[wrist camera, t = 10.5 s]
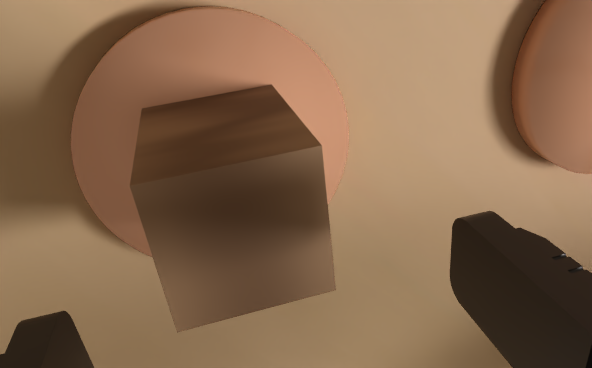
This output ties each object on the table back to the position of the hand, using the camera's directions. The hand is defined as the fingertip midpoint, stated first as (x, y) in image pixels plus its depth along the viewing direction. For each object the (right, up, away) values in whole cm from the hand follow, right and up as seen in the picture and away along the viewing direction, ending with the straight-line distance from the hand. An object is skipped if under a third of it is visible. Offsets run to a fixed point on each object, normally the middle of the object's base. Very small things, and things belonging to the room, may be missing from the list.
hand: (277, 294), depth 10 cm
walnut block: (-2, +3, +7) cm, 8 cm away
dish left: (-3, +4, +8) cm, 10 cm away
